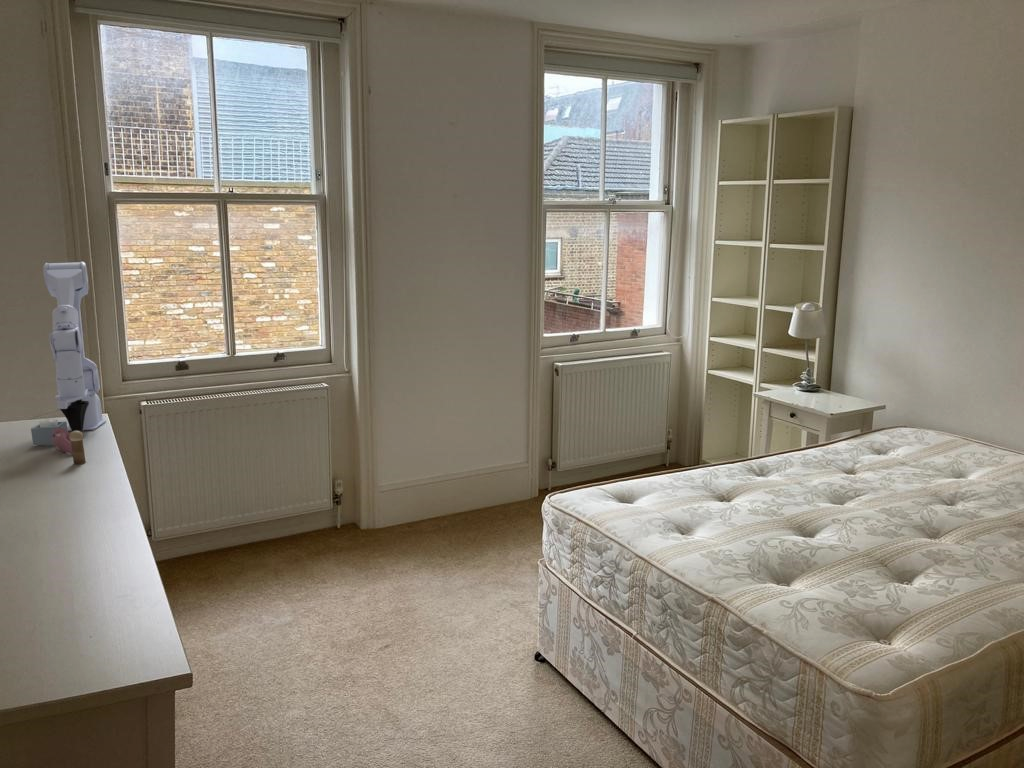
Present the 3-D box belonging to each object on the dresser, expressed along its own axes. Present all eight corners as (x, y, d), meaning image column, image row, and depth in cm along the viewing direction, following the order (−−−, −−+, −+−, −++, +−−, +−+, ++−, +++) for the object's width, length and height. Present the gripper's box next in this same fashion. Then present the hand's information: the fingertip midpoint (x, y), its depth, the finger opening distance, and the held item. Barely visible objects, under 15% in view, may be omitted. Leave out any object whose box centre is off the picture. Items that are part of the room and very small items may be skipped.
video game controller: (66, 452, 204) (48, 429, 201) (83, 442, 205) (66, 419, 202) (64, 462, 195) (45, 439, 192) (82, 452, 196) (63, 428, 194)
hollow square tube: (43, 439, 210) (41, 422, 209) (68, 438, 211) (66, 421, 210) (33, 446, 204) (30, 428, 203) (58, 444, 205) (56, 427, 204)
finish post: (75, 461, 190) (71, 429, 189) (88, 460, 190) (84, 428, 189) (70, 465, 187) (66, 432, 186) (83, 464, 188) (79, 432, 186)
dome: (45, 433, 209) (43, 418, 208) (62, 432, 209) (59, 417, 208) (38, 437, 205) (36, 421, 204) (55, 436, 205) (53, 421, 204)
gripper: (65, 373, 210) (72, 424, 213) (40, 384, 196) (48, 439, 199) (94, 371, 211) (101, 423, 214) (71, 382, 197) (78, 437, 200)
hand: (77, 431), depth 206 cm, fingers closed
